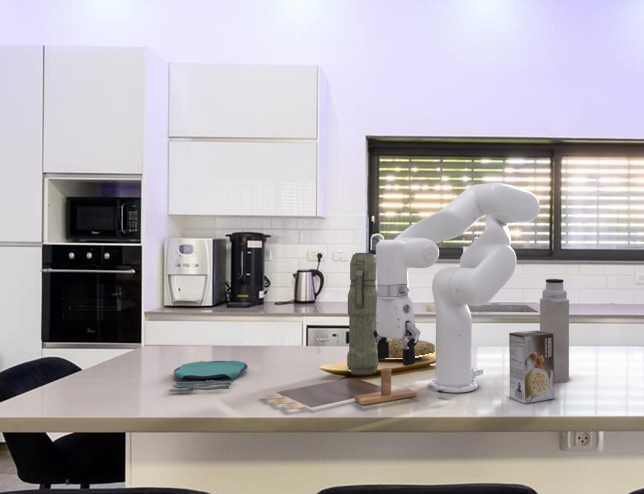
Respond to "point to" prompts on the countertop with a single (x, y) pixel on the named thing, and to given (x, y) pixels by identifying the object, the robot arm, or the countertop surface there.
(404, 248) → the robot arm
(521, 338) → the brown white upright box
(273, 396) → the crumb
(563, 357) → the thermos bottle
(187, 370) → the cutlery set
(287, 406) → the crumb
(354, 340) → the olive green flask
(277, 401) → the crumb
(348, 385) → the tray
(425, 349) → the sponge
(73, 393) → the countertop surface
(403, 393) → the wooden knob plate
